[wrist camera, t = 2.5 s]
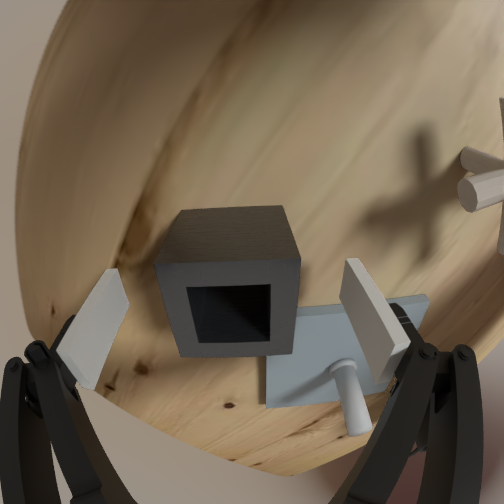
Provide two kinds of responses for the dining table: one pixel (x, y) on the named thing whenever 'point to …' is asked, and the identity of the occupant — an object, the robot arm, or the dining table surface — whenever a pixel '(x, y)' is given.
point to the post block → (330, 363)
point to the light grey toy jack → (483, 182)
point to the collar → (231, 282)
